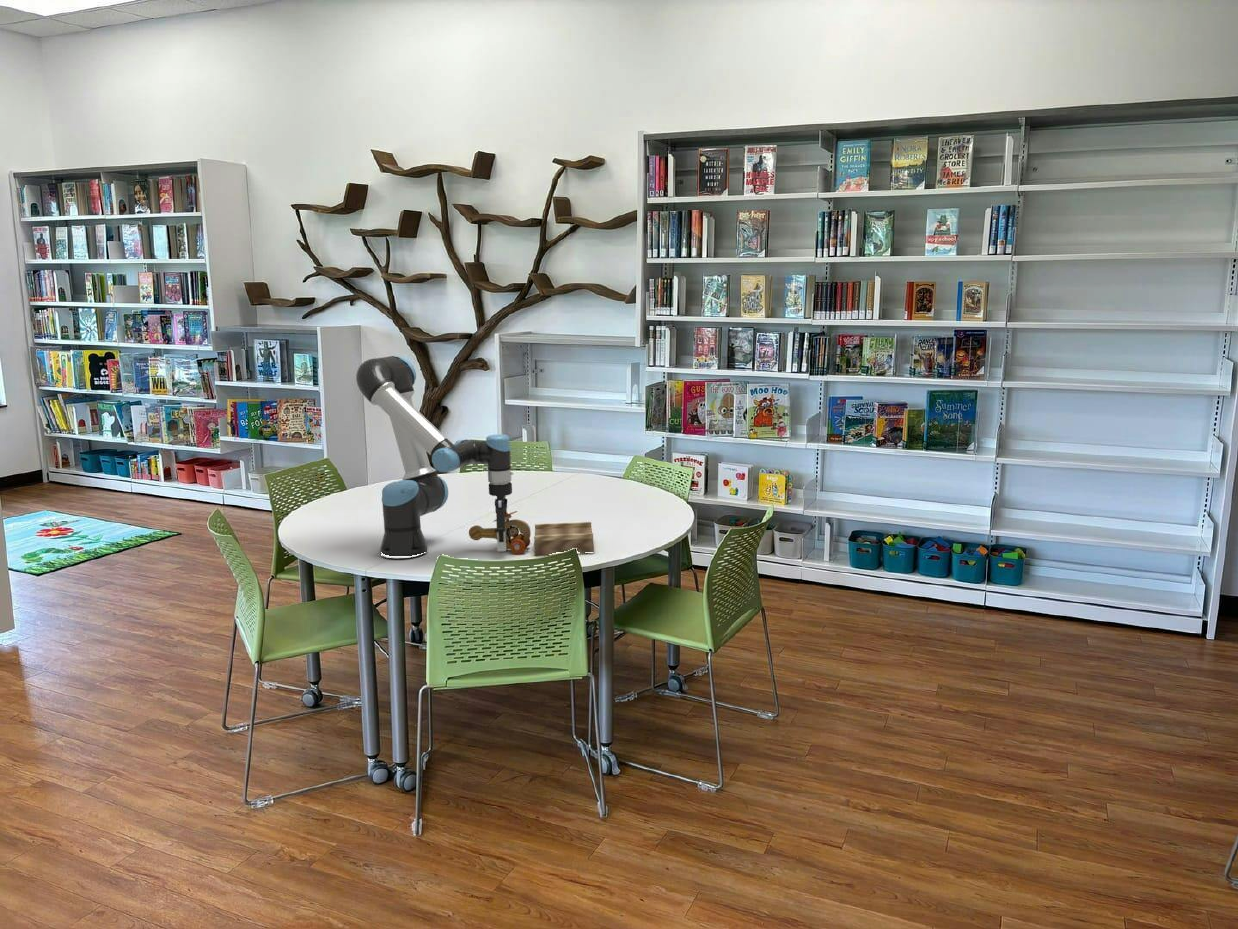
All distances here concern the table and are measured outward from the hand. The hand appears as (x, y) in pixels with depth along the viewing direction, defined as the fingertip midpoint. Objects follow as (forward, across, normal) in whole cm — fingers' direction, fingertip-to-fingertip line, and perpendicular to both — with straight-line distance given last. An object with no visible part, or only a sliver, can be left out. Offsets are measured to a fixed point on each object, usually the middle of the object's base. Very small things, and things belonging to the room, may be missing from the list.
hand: (503, 545), depth 309 cm
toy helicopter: (+2, 0, 0) cm, 2 cm away
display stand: (+2, 0, -20) cm, 20 cm away
